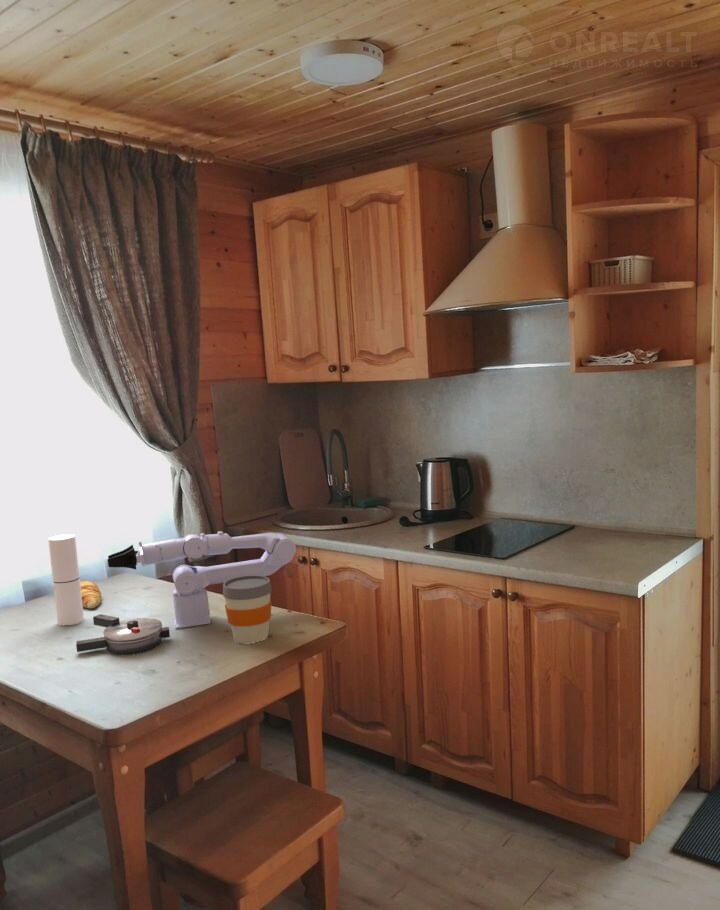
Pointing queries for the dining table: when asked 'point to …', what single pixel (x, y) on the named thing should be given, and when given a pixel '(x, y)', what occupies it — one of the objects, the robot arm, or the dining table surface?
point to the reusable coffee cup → (248, 607)
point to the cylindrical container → (66, 579)
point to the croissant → (90, 594)
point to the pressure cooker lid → (127, 628)
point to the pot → (124, 644)
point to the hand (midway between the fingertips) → (108, 561)
